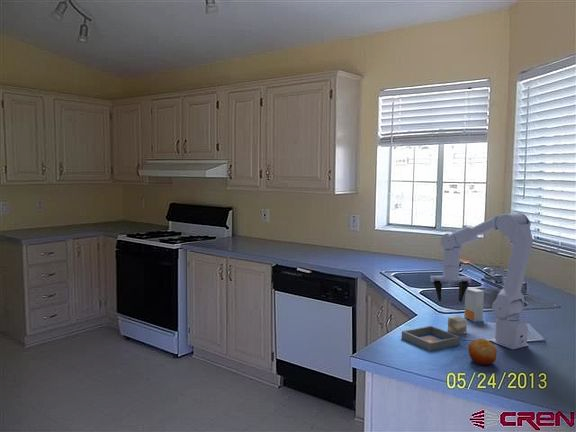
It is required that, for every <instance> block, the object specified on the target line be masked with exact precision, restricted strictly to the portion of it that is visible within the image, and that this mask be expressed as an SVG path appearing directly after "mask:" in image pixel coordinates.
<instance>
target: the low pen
mask: <svg viewBox="0 0 576 432" xmlns="http://www.w3.org/2000/svg"><path fill="white" fill-rule="evenodd" d="M430 334H431V335H432V336H433V335H434V336H436V337H437V338H441V339H440V341H435V342H429V341H426V340H424V339H422V337H419V336H425V335H430ZM401 339H402V340H404V341H407V342H409V343H411V344H413V345H416V346H418V347H421V348H422V349H425V350H427V351H429V352H432V351H438V350H441V349H446V348H450V347H454V346H458V345H461V339H462V337H461V336H460V335H457V334H454V333H451V332H449V331H446V330H443V329H441V328H437V327H435V326H433V325H428V326H423V327H417V328H412V329H406V330H401Z"/></svg>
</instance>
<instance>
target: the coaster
mask: <svg viewBox="0 0 576 432" xmlns="http://www.w3.org/2000/svg"><path fill="white" fill-rule="evenodd" d="M421 338H422V339H424V340H426V341H429V342H435V341H440V340H441V339H440V338H439V337H433V336H422V337H421Z"/></svg>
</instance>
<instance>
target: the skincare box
mask: <svg viewBox="0 0 576 432" xmlns="http://www.w3.org/2000/svg"><path fill="white" fill-rule="evenodd" d="M484 299H485V291H484V290H482V289H480V288H476V287H468V288H467V289H466V291H465V293H464V313H463V314H464V315H463V316H464V317H463V318H464V319H467V320H469V321H472V322H475V323H476V322H477V323H478V322H483V319H484V304H485V303H484V301H485V300H484Z"/></svg>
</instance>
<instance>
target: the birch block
mask: <svg viewBox="0 0 576 432" xmlns="http://www.w3.org/2000/svg"><path fill="white" fill-rule="evenodd" d="M467 322H468V319H467V318H465V317H461V316H458V315H457V316H452V317H448V318H447V332H449V333H451V334H454V335H456V336H460V335H462V333H463V334H465V333H464V332H466V333H467V326H468V325H467Z"/></svg>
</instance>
